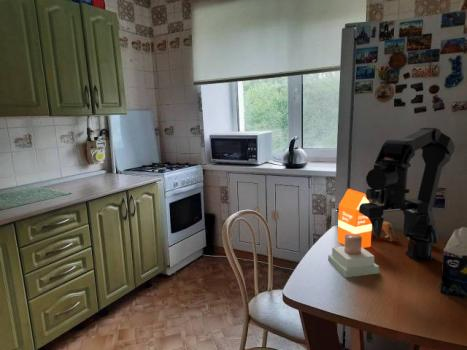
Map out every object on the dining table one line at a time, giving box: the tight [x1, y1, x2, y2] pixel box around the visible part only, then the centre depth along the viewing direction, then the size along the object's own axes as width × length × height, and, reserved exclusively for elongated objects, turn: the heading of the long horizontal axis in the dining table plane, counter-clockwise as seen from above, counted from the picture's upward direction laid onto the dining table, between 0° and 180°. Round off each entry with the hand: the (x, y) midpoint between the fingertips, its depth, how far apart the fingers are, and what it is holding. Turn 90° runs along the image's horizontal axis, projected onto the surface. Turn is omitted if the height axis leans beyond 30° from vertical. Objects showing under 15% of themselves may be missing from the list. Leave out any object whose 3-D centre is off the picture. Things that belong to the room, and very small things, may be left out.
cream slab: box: [331, 245, 375, 269], centre depth 105 cm, size 9×9×3 cm
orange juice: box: [337, 188, 372, 249], centre depth 121 cm, size 8×9×20 cm
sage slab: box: [327, 254, 380, 279], centre depth 106 cm, size 11×11×3 cm
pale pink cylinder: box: [343, 234, 362, 255], centre depth 104 cm, size 5×5×5 cm
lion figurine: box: [371, 221, 400, 243], centre depth 128 cm, size 15×5×9 cm, turn 53°
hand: (391, 236), depth 98 cm, fingers open, 9 cm apart
